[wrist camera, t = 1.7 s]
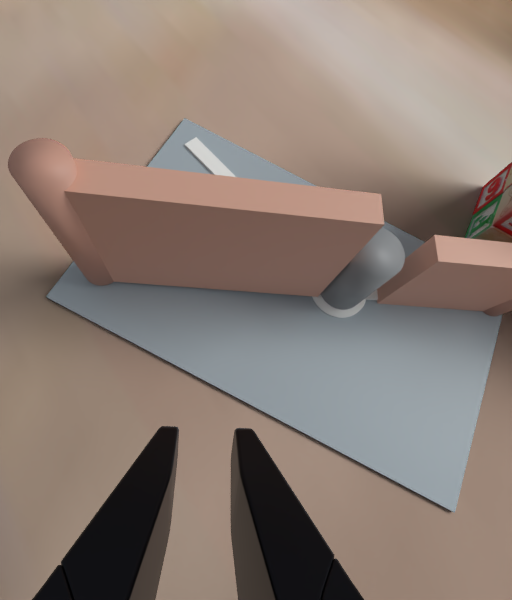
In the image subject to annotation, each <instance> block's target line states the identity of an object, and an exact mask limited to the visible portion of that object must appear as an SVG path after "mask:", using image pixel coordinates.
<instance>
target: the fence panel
mask: <svg viewBox="0 0 512 600" xmlns="http://www.w3.org/2000/svg"><path fill="white" fill-rule="evenodd" d="M8 168H9V171H10V173H11V175H12V176H13V178H14V179H15V181H16V182H17V183H18V185H19V186H20V187H21V189H22V190H23V192H24V193H25V194H26V196H27V197H28V199H29V200H30V201H31V203H32V204H33V205H34V207H35V208H36V210H37V211H38V212H39V214H40V215H41V217H42V218H43V219H44V221H45V222H46V223H47V225H48V226H49V228H50V229H51V230H52V232H53V233H54V235H55V236H56V237H57V239H58V240H59V241H60V243H61V244H62V246H63V247H64V248H65V250H66V251H67V253H68V254H69V255H70V257H71V258H72V259H73V261H74V262H75V264H76V265H77V266H78V268H79V269H80V271H81V272H82V273H83V275H84V276H85V277H86V279H87V280H88V281H89V282H90V283H92V284H94V285H98V286H104V285H108V284H111V283H113V282H125V283H139V284H152V285H165V286H179V287H192V288H206V289H219V290H232V291H246V292H259V293H272V294H286V295H299V296H313V297H318V296H319V295H320V294H321V296H322V298H323V299H324V300H325V302H326V303H328V304H329V305H330V306H332V307H334V308H336V309H341V310H346V309H351V308H353V307H354V306H356V305H357V304H358V303H360V302H361V301H362V300H364V299H365V298H366V297H368V296H369V295H370V294H371V293H373V292H374V291H375V290H377V289H378V288H379V287H381V286H382V285H383V284H384V283H386V282H387V281H388V280H390V279H391V278H392V277H394V276H395V275H396V274H397V273H399V272H400V270H401V269H402V267H403V265H404V262H405V252H404V249H403V246H402V244H401V242H400V241H399V240H398V238H397V237H396V236H395V235H394V234H392V233H391V232H390V231H388V230H386V229H384V228H382V227H383V226H384V216H383V206H382V197H381V194H377V193H368V192H360V191H351V190H342V189H334V188H325V187H317V186H308V185H299V184H291V183H282V182H274V181H265V180H257V179H248V178H239V177H231V176H222V175H214V174H205V173H196V172H188V171H179V170H171V169H162V168H154V167H145V166H136V165H128V164H119V163H111V162H102V161H93V160H85V159H76V158H73V157H72V155H71V153H70V151H69V150H68V149H67V148H66V147H65V146H64V145H63V144H61V143H60V142H58V141H55V140H52V139H47V138H37V139H32V140H28V141H26V142H24V143H22V144H20V145H19V146H17V147H16V148H15V149H14V150H13V152H12V153H11V155H10V157H9V160H8Z"/></svg>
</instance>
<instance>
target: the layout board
mask: <svg viewBox="0 0 512 600" xmlns="http://www.w3.org/2000/svg"><path fill="white" fill-rule="evenodd" d="M147 167H154V168H162V169H171V170H179V171H188V172H196V173H205V174H214V175H222V176H231V177H239V178H248V179H257V180H265V181H274V182H282V183H291V184H299V185H308V186H315V185H313V184H311V183H309V182H308V181H306V180H304V179H302V178H300V177H298V176H296V175H294V174H292V173H290V172H288V171H286V170H284V169H282V168H280V167H278V166H277V165H275V164H273V163H271V162H269V161H267V160H265V159H263V158H261V157H259V156H257V155H255V154H253V153H251V152H249V151H247V150H246V149H244V148H242V147H240V146H238V145H236V144H234V143H232V142H230V141H228V140H226V139H224V138H222V137H220V136H218V135H216V134H214V133H213V132H211V131H209V130H207V129H205V128H203V127H201V126H199V125H197V124H195V123H193V122H191V121H189V120H187V119H185V118H184V120H183V121H182V122H181V124H180V125H179V126H178V127H177V129H176V130H175V131H174V133H173V134H172V135H171V136H170V138H169V139H168V140H167V142H166V143H165V144H164V145H163V147H162V148H161V149H160V151H159V152H158V153H157V154H156V156H155V157H154V158H153V160H152V161H151V162H150V163H149V165H148V166H147ZM382 228H384V229H386V230H388V231H390V232H391V233H392V234H394V235H395V236H396V237H397V238H398V240H399V241H400V242H401V244H402V246H403V249H404V252H405V258H407V257H408V256H409V255H410V254H411V253H413V252H414V251H415V250H416V249H418V248H419V247H420V246H421V245H423V244H424V243H425V242H424V241H422V240H420V239H418V238H416V237H414V236H412V235H410V234H408V233H406V232H405V231H403V230H401V229H399V228H397V227H395V226H393V225H391V224H389V223H387V222H385V221H384V226H383V227H382ZM46 297H47V298H48V299H50V300H52V301H54V302H56V303H58V304H60V305H62V306H64V307H65V308H67V309H69V310H71V311H73V312H75V313H77V314H79V315H81V316H82V317H84V318H86V319H88V320H90V321H92V322H94V323H96V324H98V325H100V326H101V327H103V328H105V329H107V330H109V331H111V332H113V333H115V334H117V335H118V336H120V337H122V338H124V339H126V340H128V341H130V342H132V343H134V344H136V345H137V346H139V347H141V348H143V349H145V350H147V351H149V352H151V353H153V354H154V355H156V356H158V357H160V358H162V359H164V360H166V361H168V362H170V363H171V364H173V365H175V366H177V367H179V368H181V369H183V370H185V371H187V372H189V373H190V374H192V375H194V376H196V377H198V378H200V379H202V380H204V381H206V382H207V383H209V384H211V385H213V386H215V387H217V388H219V389H221V390H223V391H225V392H226V393H228V394H230V395H232V396H234V397H236V398H238V399H240V400H242V401H243V402H245V403H247V404H249V405H251V406H253V407H255V408H257V409H259V410H261V411H262V412H264V413H266V414H268V415H270V416H272V417H274V418H276V419H278V420H279V421H281V422H283V423H285V424H287V425H289V426H291V427H293V428H295V429H297V430H298V431H300V432H302V433H304V434H306V435H308V436H310V437H312V438H314V439H315V440H317V441H319V442H321V443H323V444H325V445H327V446H329V447H331V448H333V449H334V450H336V451H338V452H340V453H342V454H344V455H346V456H348V457H350V458H351V459H353V460H355V461H357V462H359V463H361V464H363V465H365V466H367V467H369V468H370V469H372V470H374V471H376V472H378V473H380V474H382V475H384V476H386V477H387V478H389V479H391V480H393V481H395V482H397V483H399V484H401V485H403V486H405V487H406V488H408V489H410V490H412V491H414V492H416V493H418V494H420V495H422V496H423V497H425V498H427V499H429V500H431V501H433V502H435V503H437V504H439V505H441V506H442V507H444V508H446V509H448V510H450V511H452V512H455V510H456V506H457V502H458V497H459V493H460V489H461V485H462V481H463V477H464V472H465V468H466V464H467V460H468V456H469V452H470V448H471V443H472V439H473V435H474V431H475V427H476V423H477V418H478V414H479V410H480V406H481V402H482V398H483V394H484V389H485V385H486V381H487V377H488V373H489V369H490V364H491V360H492V356H493V352H494V348H495V344H496V340H497V335H498V331H499V327H500V323H501V319H502V315H503V314H501V315H499V316H489V315H487V314H485V313H484V312H483V311H471V310H458V309H444V308H431V307H417V306H404V305H390V304H377V300H378V294H377V290H375V291H374V292H373V293H371V294H370V295H369V296H368V297H366V298H365V299H364V300H362V301H361V302H360V303H358V304H357V305H356V306H354V307H353V308H351V309H346V310H341V309H336V308H334V307H332V306H330V305H329V304H328V303H326V302H325V300H324V299H323V298H322V296H321V294H320V295H319V296H318V297H313V296H299V295H286V294H272V293H259V292H246V291H232V290H219V289H206V288H192V287H179V286H165V285H152V284H139V283H125V282H113V283H111V284H108V285H104V286H98V285H94V284H92V283H90V282H89V281H88V280H87V279H86V277H85V276H84V275H83V273H82V272H81V271H80V269H79V268H78V266H77V265H76V264H75V262H74V261H73V263H72V264H71V265H70V266H69V268H68V269H67V270H66V272H65V273H64V274H63V275H62V277H61V278H60V279H59V281H58V282H57V283H56V284H55V286H54V287H53V288H52V290H51V291H50V292H49V293H48V295H47V296H46Z"/></svg>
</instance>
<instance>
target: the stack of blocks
mask: <svg viewBox="0 0 512 600" xmlns="http://www.w3.org/2000/svg"><path fill="white" fill-rule="evenodd" d="M465 238H470V239H480V240H489V241H499V242H509V243H512V163H510V164H509V165H508V166H507V167H505V168H504V169H503V170H502V171H500V173H499V174H497V175H496V176H495V177H494V178H493V179H491V180H490V181H489V182H488V183H487V184H486V185H484V187H483V188H482V191H481V194H480V196H479V199H478V201H477V204H476V207H475V210H474V212H473V217H472V220H471V222H470V225H469V227H468V230H467V233H466V235H465Z"/></svg>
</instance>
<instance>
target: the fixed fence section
mask: <svg viewBox="0 0 512 600" xmlns="http://www.w3.org/2000/svg"><path fill="white" fill-rule="evenodd" d="M377 294H378V300H377V304H390V305H404V306H417V307H431V308H444V309H458V310H471V311H483V312H484V313H485V314H487V315H489V316H499V315H501V314H504V313H507V312H509V311H512V243H509V242H499V241H489V240H480V239H470V238H460V237H450V236H441V235H434V236H432V237H431V238H430V239H429V240H427V241H426V242H425V243H424V244H423V245H421V246H420V247H419V248H418V249H416V250H415V251H414V252H413V253H411V254H410V255H409V256H408V257H407V258H405V262H404V265H403V267H402V269H401V270H400V272H399V273H397V274H396V275H395V276H394V277H392V278H391V279H390V280H388V281H387V282H386V283H384V284H383V285H382V286H381V287H379V288H378V289H377Z"/></svg>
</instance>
